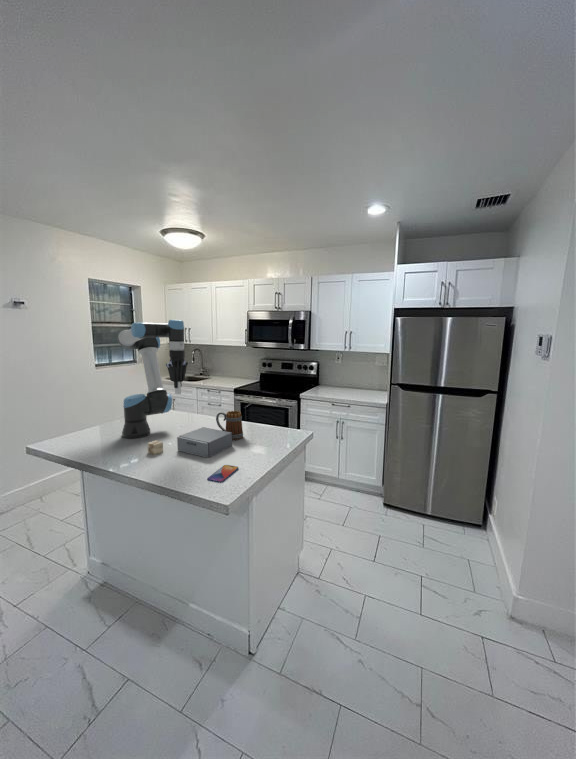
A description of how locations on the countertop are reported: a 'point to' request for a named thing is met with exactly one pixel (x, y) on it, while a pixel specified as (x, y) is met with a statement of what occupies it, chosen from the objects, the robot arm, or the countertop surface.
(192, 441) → the gray drawer
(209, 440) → the grey drawer box
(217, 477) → the smartphone
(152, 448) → the block
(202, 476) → the countertop surface
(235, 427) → the mug
